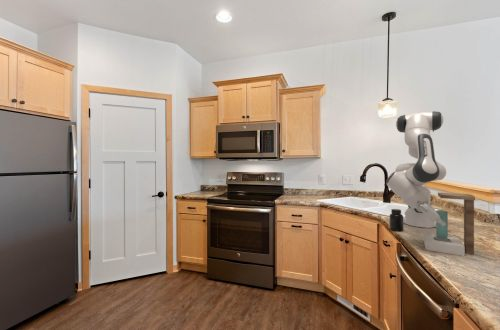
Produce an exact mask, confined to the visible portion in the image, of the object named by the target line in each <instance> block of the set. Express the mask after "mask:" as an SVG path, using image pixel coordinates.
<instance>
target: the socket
mask: <svg viewBox="0 0 500 330" xmlns="http://www.w3.org/2000/svg"><path fill="white" fill-rule="evenodd" d="M422 236H423V238H422V241H423V244H424V245H423V246H424V249H425V250H426V251H432V252H437V253H444V254H449V255H457V256H463V257H464V256H465V255H466V254H465V253H466V252H465V246H464V243H463V242H462V241H461V240H460V239H459V238H458V237H451V236H448V239H442V238H438V237H436V234H428V233H423V235H422Z"/></svg>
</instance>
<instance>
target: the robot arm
mask: <svg viewBox="0 0 500 330" xmlns="http://www.w3.org/2000/svg"><path fill="white" fill-rule="evenodd" d="M443 123H444V116H443V115H442V112H441V111H424V112H421V111H420V112H417V113H410V114H403V115H399V116H398V117H397V120H396V121H395V127H396V129H397V131H398V132H399V133H404V142H405V144H406V145H407V147H408V154H409V156H410V157H412V158H413V159H417V160H416V162H415V163H414V162H410V163H408V162H407V163H401V164H398V165H397V166H396V168H395V170H394V171H393V172H392V173H391V174H390V175H389V176H388V177H387V178H386V181H385V184H386V185H387V187H388V188H389V189H390V190H391V191H392V192H393V193H394V194H395V195H396V196H397V197H399V198H401V200H402V201H403V202H404V203H405V204H406V206H407V207H408V208H407V209H405V211H404V218H403V225H404V224H406V225H409V226H411V227H418V228H427V229H429V228H436V221H437V222H438V223H439V224H441V225H442V226H444V225H446V223H445V222H444V221H443V220H442V219H441V218H440V216H439V215H438V213H437V212H436V211H437V210H436V209H435V208H434V206H432V203H431V197H432V195H431V191H430V189H429V188H427V186H424V185H426V184H428V183H431V182H435V181H442V180H443V179H445V177H446V176H447V169H446V167H445V166H444V165H443V164H442V163H440V162H439V161H437V160H436V158H435V149H434V142H433V138H432V136H431V131H432V132H433V133H434V132H435V131H438V130H439V129H440V128H441V127H442V126H443V125H444V124H443Z"/></svg>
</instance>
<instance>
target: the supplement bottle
mask: <svg viewBox="0 0 500 330" xmlns="http://www.w3.org/2000/svg"><path fill="white" fill-rule="evenodd" d="M403 220H404V215H403V214H402V210H401V209H399V208H391V213H390V214H389V230H390V231H393V232H400V233H401V232H403V231H404V228H405V227H404V223H403Z"/></svg>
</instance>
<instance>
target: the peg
mask: <svg viewBox="0 0 500 330" xmlns="http://www.w3.org/2000/svg"><path fill="white" fill-rule="evenodd" d="M435 211H436V212H437V213H438V215H439V216H440V218H441V219H442V220H443V221H444V222H445V223H446V225H444V226H442V225H441V224H439V223H438V222H437V221H435V223H436V227H435V228H436V230H435V231H436V232H435V233H436V234H435V235H436V237H438V238H442V239H448V237H449V236H448V235H449V234H448V233H449V231H448V230H449V229H448V228H449V227H448V226H449V224H448V223H449V221H448V216H449V215H448V214H449V213H448V211H446V210H439V209H438V210H435Z"/></svg>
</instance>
